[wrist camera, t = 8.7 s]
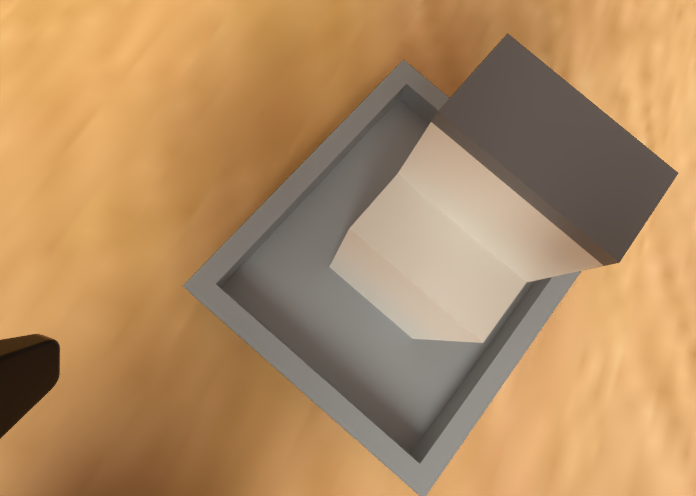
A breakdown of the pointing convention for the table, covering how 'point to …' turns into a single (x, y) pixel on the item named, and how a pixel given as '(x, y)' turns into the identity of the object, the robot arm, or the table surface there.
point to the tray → (363, 298)
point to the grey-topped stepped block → (500, 201)
